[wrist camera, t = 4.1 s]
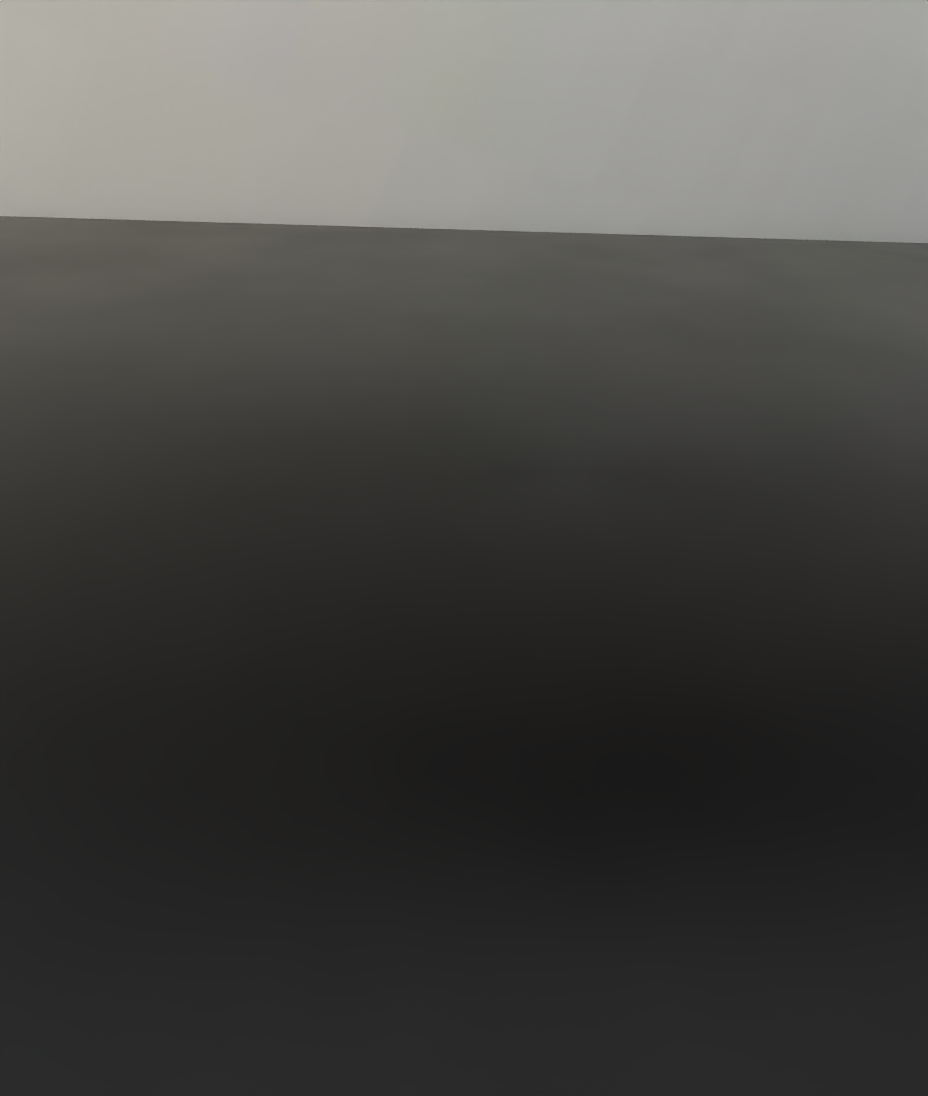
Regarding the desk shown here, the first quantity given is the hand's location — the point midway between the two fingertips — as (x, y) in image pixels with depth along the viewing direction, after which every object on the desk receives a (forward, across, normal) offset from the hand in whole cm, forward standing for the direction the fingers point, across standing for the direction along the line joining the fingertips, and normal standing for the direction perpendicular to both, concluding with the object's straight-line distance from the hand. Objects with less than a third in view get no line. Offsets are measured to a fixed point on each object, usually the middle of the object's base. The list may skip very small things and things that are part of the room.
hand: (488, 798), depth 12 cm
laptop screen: (-4, 0, -6) cm, 7 cm away
